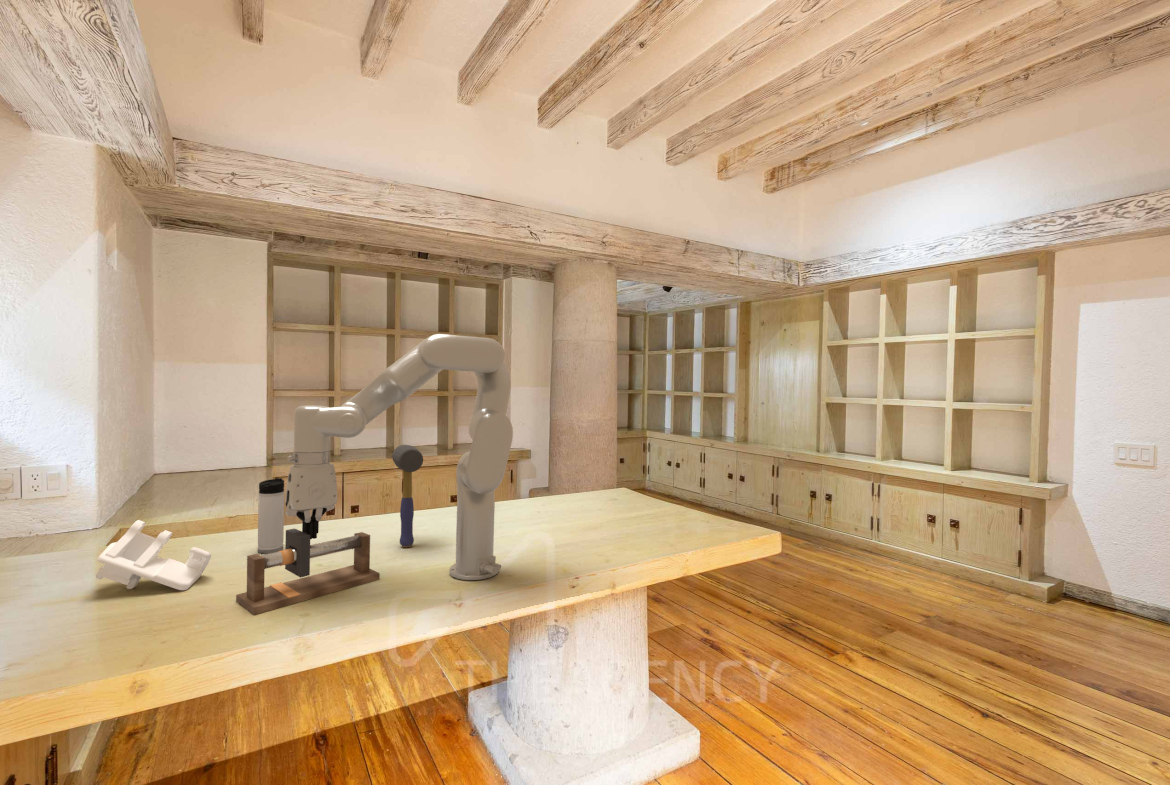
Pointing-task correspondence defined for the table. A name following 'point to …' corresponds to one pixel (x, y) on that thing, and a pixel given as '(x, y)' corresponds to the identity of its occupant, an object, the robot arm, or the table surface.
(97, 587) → the table surface
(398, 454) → the rubber mallet
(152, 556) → the white angular bracket piece
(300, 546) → the collar
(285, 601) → the pipe stand
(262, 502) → the travel mug
